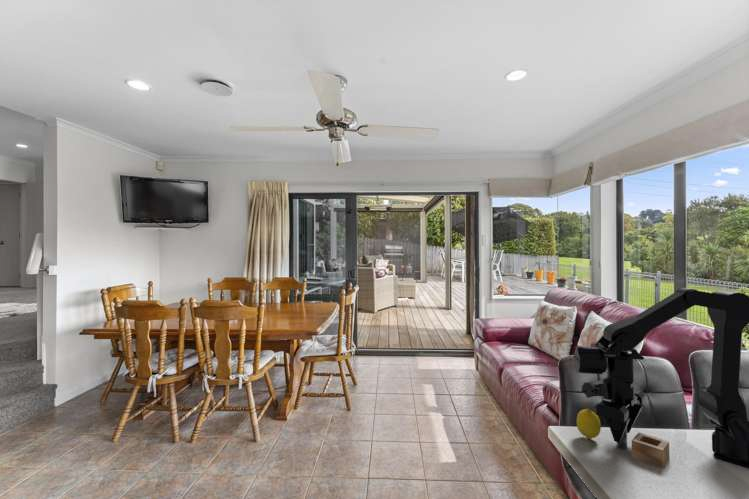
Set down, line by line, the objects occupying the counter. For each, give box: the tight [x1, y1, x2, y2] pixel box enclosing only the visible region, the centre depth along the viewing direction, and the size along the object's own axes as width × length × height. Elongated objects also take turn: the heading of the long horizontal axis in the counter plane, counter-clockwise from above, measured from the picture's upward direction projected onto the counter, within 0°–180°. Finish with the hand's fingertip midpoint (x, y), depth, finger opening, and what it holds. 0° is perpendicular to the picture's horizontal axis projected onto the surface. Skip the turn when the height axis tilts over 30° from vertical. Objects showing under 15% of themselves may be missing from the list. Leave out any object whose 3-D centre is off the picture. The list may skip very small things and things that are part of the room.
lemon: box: [576, 408, 602, 440], centre depth 95 cm, size 6×6×8 cm
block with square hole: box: [631, 432, 670, 469], centre depth 86 cm, size 6×6×4 cm
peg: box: [616, 427, 628, 450], centre depth 91 cm, size 2×2×8 cm
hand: (621, 437), depth 91 cm, fingers open, 7 cm apart
